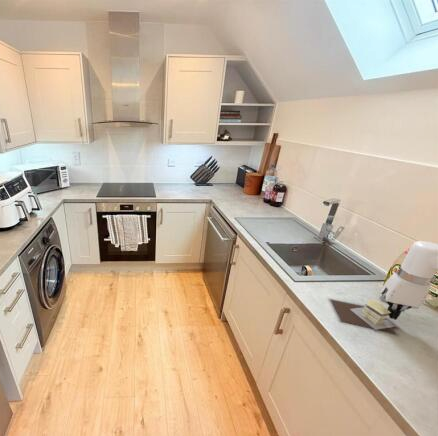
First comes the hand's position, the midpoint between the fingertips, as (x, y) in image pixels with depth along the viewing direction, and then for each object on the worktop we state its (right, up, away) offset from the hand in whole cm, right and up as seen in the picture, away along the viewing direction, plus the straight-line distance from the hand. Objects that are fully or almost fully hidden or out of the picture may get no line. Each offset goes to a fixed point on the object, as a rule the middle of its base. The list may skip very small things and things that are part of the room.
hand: (391, 316), depth 87 cm
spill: (-8, -1, +4) cm, 9 cm away
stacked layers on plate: (-5, -2, +3) cm, 6 cm away
